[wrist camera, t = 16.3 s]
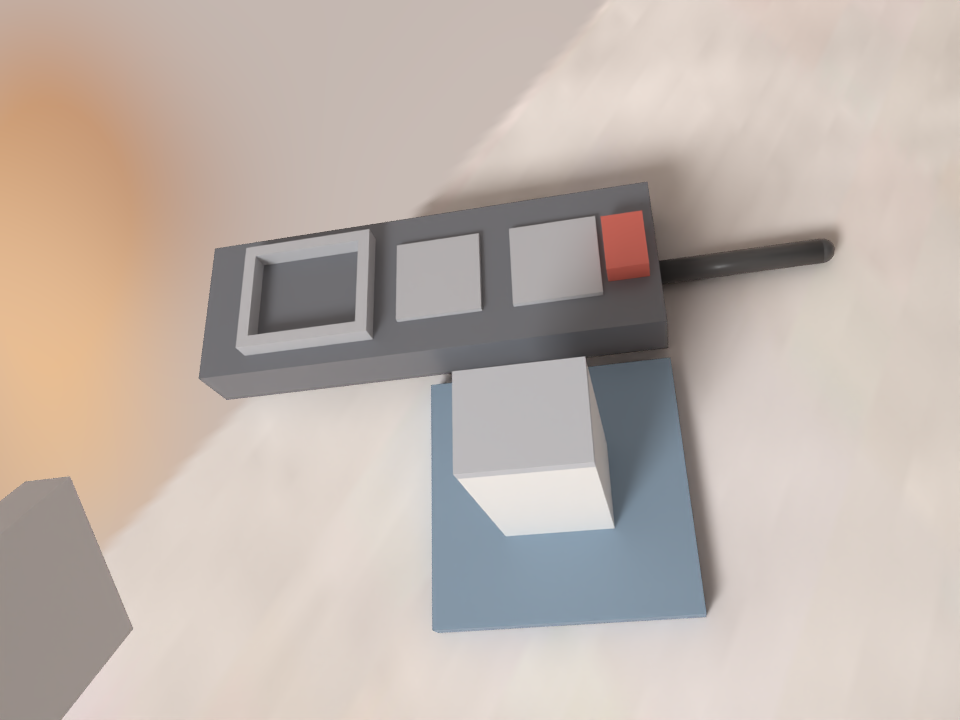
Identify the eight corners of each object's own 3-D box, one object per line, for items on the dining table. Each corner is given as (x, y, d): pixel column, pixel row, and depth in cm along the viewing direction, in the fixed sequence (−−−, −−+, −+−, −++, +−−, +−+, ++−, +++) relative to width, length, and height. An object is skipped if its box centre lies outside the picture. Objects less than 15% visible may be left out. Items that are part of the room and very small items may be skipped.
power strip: (815, 190, 43) (828, 138, 39) (849, 326, 40) (867, 283, 36) (240, 275, 49) (204, 237, 45) (226, 399, 46) (186, 369, 42)
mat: (670, 365, 41) (670, 357, 40) (705, 616, 36) (706, 613, 35) (436, 392, 43) (431, 385, 42) (438, 632, 38) (432, 630, 37)
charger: (606, 444, 39) (585, 356, 30) (614, 528, 37) (594, 461, 28) (502, 453, 40) (452, 371, 31) (505, 536, 38) (452, 474, 29)
